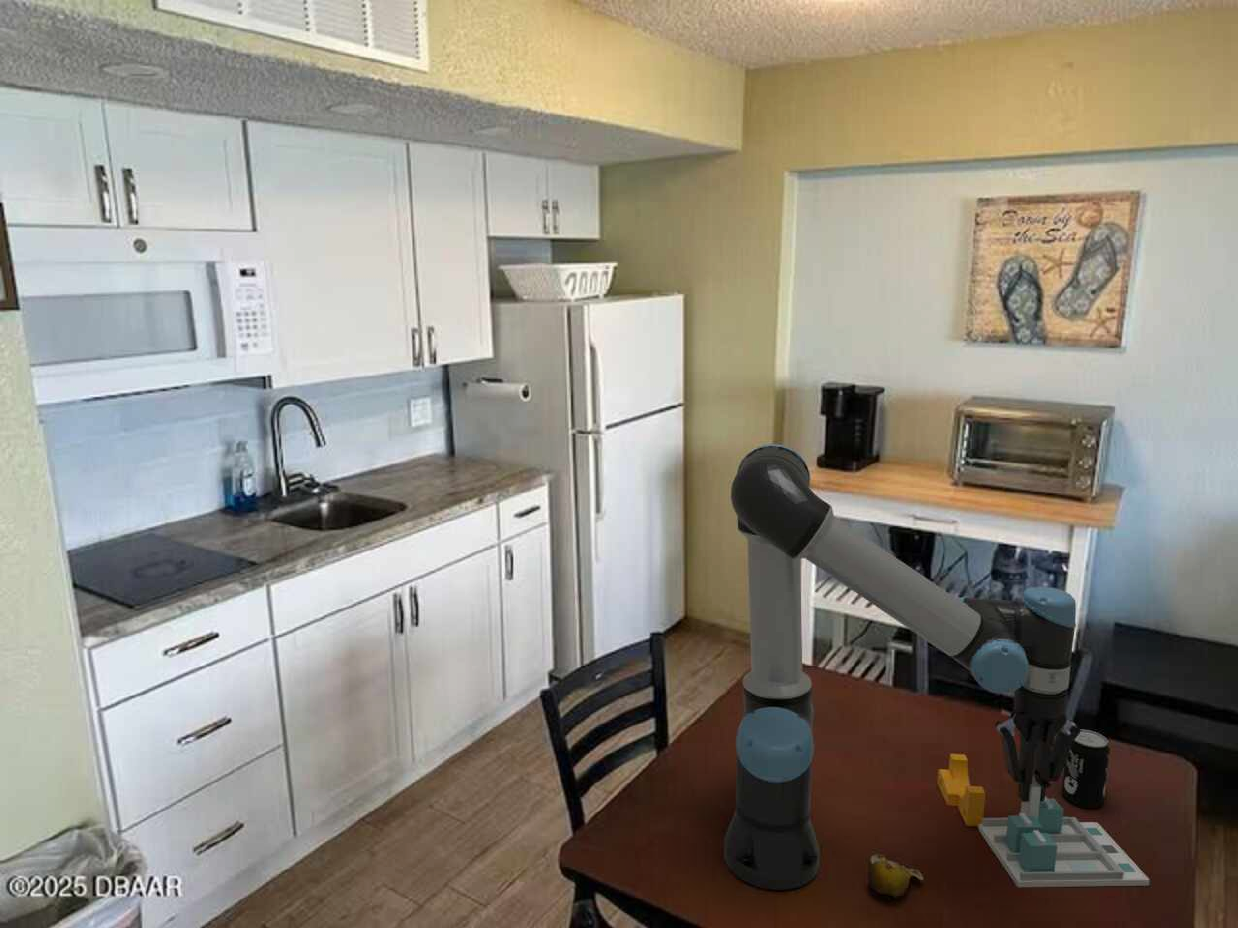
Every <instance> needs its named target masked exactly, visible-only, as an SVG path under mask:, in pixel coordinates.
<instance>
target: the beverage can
mask: <svg viewBox="0 0 1238 928" xmlns="http://www.w3.org/2000/svg"><path fill="white" fill-rule="evenodd" d="M1080 730H1081V732H1080V734H1079V735H1078V736H1077V737H1076V739H1075V740H1074V741H1073V743H1072V746H1071V749H1070V752H1069V754H1068V757H1067V760H1066V762H1065V765H1064V768H1063V771H1062V783H1061V794H1062V795H1063V796H1064V797H1065V799H1066V800H1067V801H1068V802H1069V803H1071V804H1073V805H1074V806H1076V807H1081V808H1083V809H1095V808H1097V807H1100V806H1101V805H1103V804H1104V801H1105V794H1106V784H1107V777H1108V770H1109V769H1108V768H1109V760H1110V753H1111V750H1110V747H1109V745H1108V744H1109V742H1108V739H1107V738H1106V737H1105V736H1104V735H1102V734H1101V733H1099V732H1096V731H1093V730H1090V729H1084V728H1083V729H1081V728H1080Z"/></svg>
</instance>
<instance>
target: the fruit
mask: <svg viewBox="0 0 1238 928" xmlns="http://www.w3.org/2000/svg"><path fill="white" fill-rule="evenodd" d="M870 863H871V866H870V869H869V870H868V877H867V878H868V881H869V882H868V883H869V886H870V888H871V890H872V891H873V892H876V893H879V894H886V895H888V896H892V897H893V898H898V897H902V896H904V895H905V892H906V891H907V890H908V887H909V885H910V879H911V878H912V877H916V878H917V879H918V880H919V882H923V881H924V876H923V875H922V873H921V872H920V871H919V870H918V869H916V868H915V869H913V868H910V869H909V868H907V867H905V866H904V865H902V866H901V865H900V864H899V863H897V862H894V861H892V860H890V859H889V860H888V859H886V857H885V855H882V854H881V853H880V854H878V853H876V854H874V855H871V856H870Z"/></svg>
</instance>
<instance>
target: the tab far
mask: <svg viewBox="0 0 1238 928" xmlns="http://www.w3.org/2000/svg"><path fill="white" fill-rule="evenodd" d="M1063 817H1064V808H1063V807H1062V805H1060V804H1059V802H1057V800H1056V799H1055V798H1048V797H1047V796H1046V795H1045V799H1044V801H1040V803H1039V813H1038V822H1039V823H1040V824H1041V826H1042V827H1043V829H1042V833H1048V834H1061V829H1062V820H1063Z"/></svg>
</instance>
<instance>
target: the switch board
mask: <svg viewBox="0 0 1238 928" xmlns="http://www.w3.org/2000/svg"><path fill="white" fill-rule="evenodd" d="M1007 824H1008V817H983V819H982V824H978V826H977V830H978V831H979V832H980V834H981V836H982V837H983V838H984V840H985V842H986V843H987V844H988V846H989V847H990V849H991V851H992V852H993V853H994V855H995V856H996V857H997V859H998V860H999V862H1000V863H1001V865H1002V867H1003V868H1004V869H1005V871H1006V872H1007V874H1008V875H1009V877H1010V878H1011V879H1012V881H1013V883H1014V884H1015V886H1016V887H1017V888H1063V887H1064V888H1065V887H1067V888H1068V887H1069V888H1071V887H1073V888H1074V887H1077V888H1078V887H1079V888H1080V887H1139V886H1140V887H1141V886H1143V887H1145V886H1146V887H1147V886H1148V887H1149V886H1150V880H1151V879H1150V878H1149V877H1148V876H1147V875H1146V874H1145V873H1144V872H1143V871H1142V870H1141V869H1140V867H1138V865H1137V864H1136V863H1135V862H1134V861H1133V860H1132V859H1131V858H1130V856H1129V855H1128V854H1127V853H1126V852H1125V851H1124V850H1123V848H1121V847H1120V845H1119V844H1118V843H1116V841H1115V840H1114V838H1112V837H1111V835H1109V834H1108V833H1107V831H1106V830H1105V829H1104V828H1103V827H1102V825H1100V824H1099V823H1098V822H1096V821H1095V822H1094V821H1089V822H1088V821H1086V822H1081V821H1079V820H1078V819H1077V817H1075V816H1063V820H1062V829H1061V834H1049V836H1050V837H1051V838H1052V839H1053V841H1054V842H1055V843H1056V844H1057V853H1056V862H1055V871H1048V872H1026V871H1025V870H1024V868H1023V867H1022V865H1021V864H1020V863H1019V853H1012V851H1011V850H1010V849H1009V847H1008V846H1007V844H1006V835H1007Z"/></svg>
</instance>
